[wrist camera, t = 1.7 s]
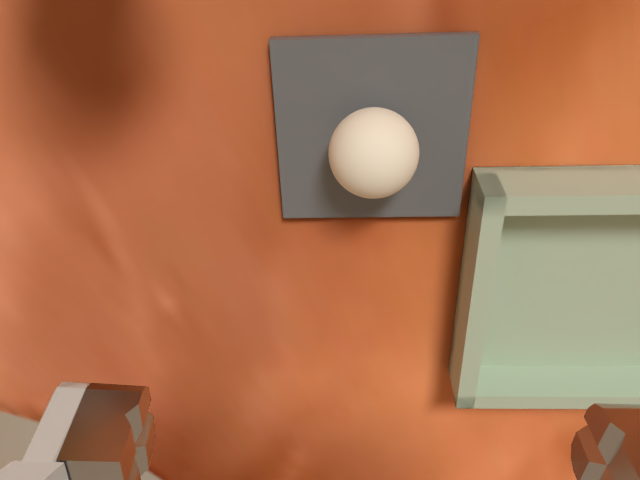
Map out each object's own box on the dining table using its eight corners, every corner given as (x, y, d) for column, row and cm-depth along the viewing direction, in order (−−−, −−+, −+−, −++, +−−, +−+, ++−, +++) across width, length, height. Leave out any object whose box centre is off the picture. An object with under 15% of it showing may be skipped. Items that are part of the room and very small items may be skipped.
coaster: (477, 31, 25) (479, 34, 25) (457, 211, 30) (459, 216, 30) (270, 36, 26) (268, 39, 25) (284, 213, 31) (283, 218, 30)
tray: (811, 162, 28) (856, 192, 26) (713, 370, 36) (741, 409, 33) (472, 167, 29) (484, 197, 26) (448, 370, 37) (456, 408, 34)
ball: (417, 92, 26) (427, 127, 23) (412, 172, 29) (421, 215, 25) (328, 94, 27) (325, 129, 23) (330, 174, 29) (328, 216, 25)
